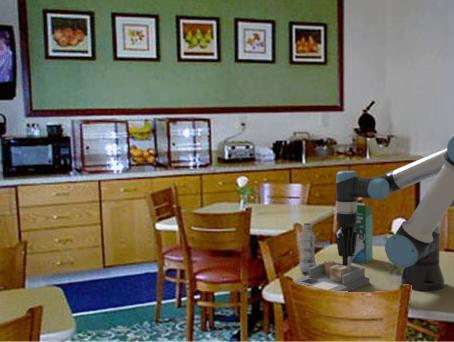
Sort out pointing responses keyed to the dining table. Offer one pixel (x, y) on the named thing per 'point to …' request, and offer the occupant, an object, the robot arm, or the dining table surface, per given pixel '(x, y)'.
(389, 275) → the dining table surface
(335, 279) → the maple cube
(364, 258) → the milk carton
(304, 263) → the plastic bottle
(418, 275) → the robot arm
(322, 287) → the cubby deck
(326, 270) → the tan block
